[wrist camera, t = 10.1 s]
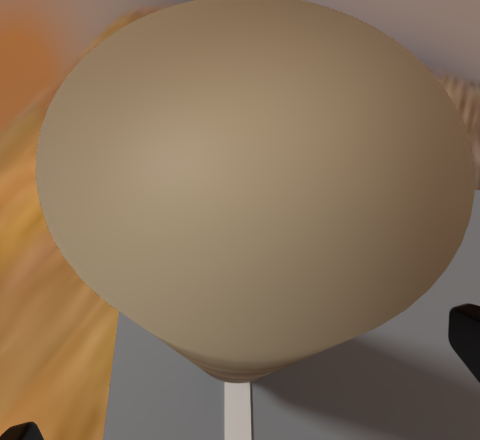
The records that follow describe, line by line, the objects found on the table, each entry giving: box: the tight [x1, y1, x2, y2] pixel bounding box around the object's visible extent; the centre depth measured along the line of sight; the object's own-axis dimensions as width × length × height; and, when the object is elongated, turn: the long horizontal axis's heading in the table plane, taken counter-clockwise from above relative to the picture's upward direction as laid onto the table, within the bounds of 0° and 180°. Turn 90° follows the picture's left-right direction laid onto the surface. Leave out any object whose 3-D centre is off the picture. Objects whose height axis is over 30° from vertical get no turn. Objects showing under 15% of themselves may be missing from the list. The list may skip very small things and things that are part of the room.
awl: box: [36, 0, 475, 383], centre depth 9 cm, size 4×4×13 cm
